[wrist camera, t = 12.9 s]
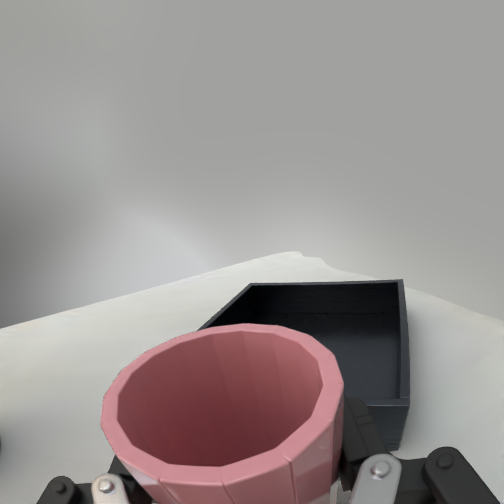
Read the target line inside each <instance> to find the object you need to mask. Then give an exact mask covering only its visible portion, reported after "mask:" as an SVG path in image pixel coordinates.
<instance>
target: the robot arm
mask: <svg viewBox="0 0 504 504" xmlns="http://www.w3.org/2000/svg"><path fill="white" fill-rule="evenodd" d="M339 477H340V480H341V484H342V488H343V491H348V490H351V492H352V493H351V496H350V498H349V501H348V504H500V502H499V501H498V500H497V498H496V497H495V496H494V495H493V493H492V492H491V491H490V489H489V488H488V487H487V485H486V484H485V483H484V482H483V480H482V479H481V478H480V476H479V475H478V474H477V473H476V471H475V470H474V469H473V468H472V466H471V465H470V464H469V463H468V461H467V460H466V459H465V458H464V456H463V455H462V454H461V453H460V452H459V451H458V450H457V449H455V448H453V447H440V448H437V449H435V450H434V451H432V452H431V453H430V454H429V455H428V457H427V458H420V459H412V460H403V459H399V458H396V457H394V456H393V455H392V454H390V452H389V451H388V449H387V447H386V445H385V443H384V441H383V439H382V437H381V434H380V432H379V430H378V428H377V426H376V424H375V423H374V420H373V418H372V415H371V414H370V411H369V409H368V407H367V405H366V403H364V402H363V401H362V400H361V399H359V398H358V397H353V398H349V399H347V398H346V396H345V393H344V408H343V432H342V448H341V461H340V473H339ZM152 503H156V504H158V503H157V502H156V501H155V500H154V499H153V498H152V497H151V496H150V495H149V494H148V493H147V492H146V491H145V489H144V488H143V487H142V486H141V485H140V484H139V483H138V482H137V480H136V479H135V478H134V477H133V476H132V475H131V473H130V472H129V471H128V470H127V469H126V467H125V466H124V465H123V464H122V462H121V461H120V460H119V459H118V457H117V456H116V455H115V456H114V459H113V461H112V464H111V466H110V469H109V471H108V473H107V474H102V475H100V476H98V477H97V478H95V480H94V481H93V482H92V483H85V484H75V483H74V482H73V481H72V480H71V479H70V478H68V477H65V476H58V477H56V478H54V479H52V480H51V481H50V482H49V484H48V486H47V487H46V489H45V490H44V492H43V494H42V495H41V497H40V499H39V500H38V502H37V504H152Z"/></svg>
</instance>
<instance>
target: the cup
mask: <svg viewBox="0 0 504 504" xmlns="http://www.w3.org/2000/svg"><path fill="white" fill-rule="evenodd" d="M343 408H344V381H343V378H342V375H341V372H340V369H339V366H338V364H337V361H336V358H335V355H334V354H333V353H332V352H331V351H330V350H328V349H327V348H326V347H325V346H323V345H322V344H321V343H320V342H318V341H317V340H316V339H315V338H313V337H312V336H310V335H308V334H305V333H302V332H299V331H296V330H292V329H289V328H286V327H283V326H279V325H264V324H249V323H247V324H245V323H243V324H235V325H226V326H217V327H211V328H206V329H203V330H199V331H196V332H192V333H188V334H185V335H181V336H178V337H175V338H173V339H171V340H169V341H167V342H165V343H163V344H160V345H158V346H156V347H154V348H152V349H150V350H148V351H147V352H144V353H143V354H142V355H141V356H139V357H138V358H137V359H135V360H134V361H133V362H131V363H130V364H129V365H128V366H126V367H125V368H124V369H122V371H121V372H120V373H119V374H118V375H117V377H116V378H115V380H114V381H113V383H112V384H111V386H110V387H109V389H108V390H107V392H106V393H105V396H104V397H103V405H102V414H101V423H100V424H101V428H102V430H103V432H104V434H105V436H106V438H107V440H108V442H109V444H110V445H111V447H112V449H113V451H114V453H115V455H116V456H117V457H118V459H119V460H120V461H121V462H122V464H123V465H124V466H125V467H126V469H127V470H128V471H129V472H130V473H131V475H132V476H133V477H134V478H135V479H136V480H137V482H138V483H139V484H140V485H141V486H142V487H143V488H144V489H145V491H146V492H147V493H148V494H149V495H150V496H151V497H152V498H153V499H154V500H155V501H156V502H157V503H158V504H336V500H337V492H338V483H339V473H340V461H341V448H342V432H343Z"/></svg>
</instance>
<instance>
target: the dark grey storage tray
mask: <svg viewBox="0 0 504 504" xmlns="http://www.w3.org/2000/svg"><path fill="white" fill-rule="evenodd" d="M243 323H245V324H247V323H249V324H264V325H279V326H283V327H286V328H289V329H292V330H296V331H299V332H302V333H305V334H308V335H310V336H312V337H313V338H315V339H316V340H317V341H318V342H320V343H321V344H322V345H323V346H325V347H326V348H327V349H328V350H330V351H331V352H332V353H333V354H334V355H335V358H336V361H337V364H338V366H339V369H340V372H341V375H342V378H343V381H344V393H345V396H346V398H347V399H349V398H353V397H358V398H359V399H361V400H362V401H363V402H364V403H366V405H367V407H368V409H369V411H370V414H371V415H372V418H373V420H374V423H375V424H376V426H377V428H378V430H379V432H380V434H381V437H382V439H383V441H384V443H385V445H386V447H387V449H388V450H398V448H399V444H400V441H401V438H402V434H403V430H404V427H405V423H406V419H407V415H408V410H409V406H410V356H409V336H408V322H407V311H406V301H405V292H404V284H403V279H400V280H376V281H346V282H303V283H250V284H249V285H248V286H246V287H245V288H244V289H243V290H242V291H241V292H240V293H239V294H238V295H236V296H235V297H234V298H233V299H232V300H231V301H230V302H229V303H227V304H226V305H225V306H224V307H223V308H222V309H221V310H220V311H219V312H217V313H216V314H215V315H214V316H213V317H212V318H211V319H210V320H208V321H207V322H206V323H205V324H204V325H203V326H202V327H200V328H199V329H198V330H197V331H199V330H203V329H206V328H211V327H217V326H226V325H235V324H243Z"/></svg>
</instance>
